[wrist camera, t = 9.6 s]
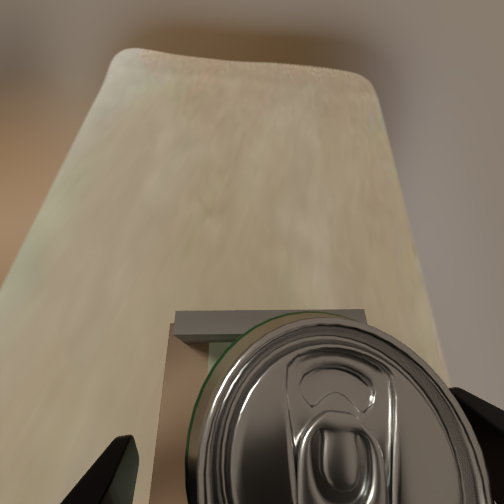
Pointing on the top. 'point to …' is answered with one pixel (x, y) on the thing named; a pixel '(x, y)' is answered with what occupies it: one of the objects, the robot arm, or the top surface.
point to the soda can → (329, 422)
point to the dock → (196, 384)
